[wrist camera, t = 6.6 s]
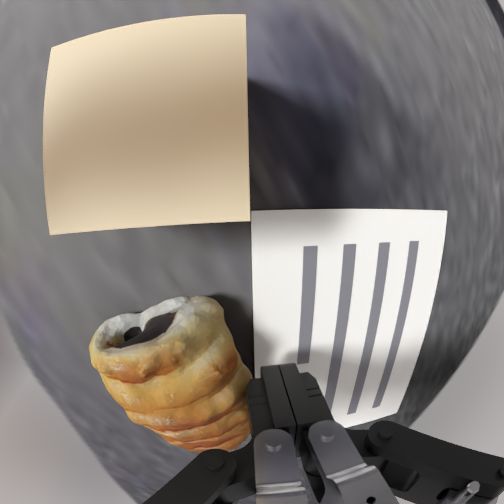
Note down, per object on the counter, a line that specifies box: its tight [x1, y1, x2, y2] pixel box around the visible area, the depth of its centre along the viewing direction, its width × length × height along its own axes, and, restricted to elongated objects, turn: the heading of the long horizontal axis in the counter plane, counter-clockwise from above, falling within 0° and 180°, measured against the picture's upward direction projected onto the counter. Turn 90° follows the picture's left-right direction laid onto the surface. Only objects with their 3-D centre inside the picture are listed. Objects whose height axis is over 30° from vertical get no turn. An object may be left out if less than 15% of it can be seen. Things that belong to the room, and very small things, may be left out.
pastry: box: [89, 296, 253, 452], centre depth 12 cm, size 9×7×4 cm
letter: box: [251, 209, 447, 428], centre depth 14 cm, size 14×10×1 cm
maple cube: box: [43, 14, 250, 235], centre depth 8 cm, size 5×5×5 cm
